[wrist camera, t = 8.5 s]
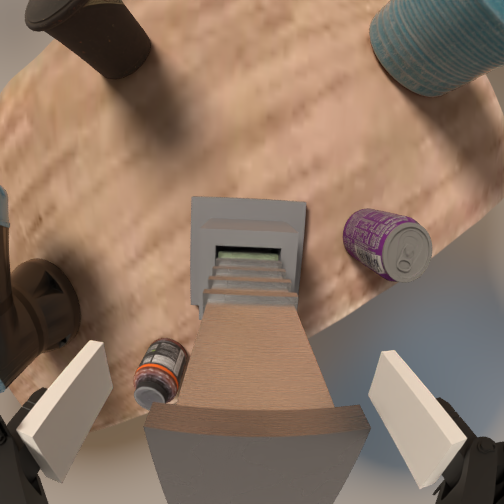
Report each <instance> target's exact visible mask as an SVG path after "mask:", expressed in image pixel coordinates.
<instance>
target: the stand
mask: <svg viewBox="0 0 504 504" xmlns="http://www.w3.org/2000/svg"><path fill="white" fill-rule="evenodd" d="M305 215H306V202H299V201H285V200H269V199H250V198H228V197H198V196H193V197H192V203H191V252H190V280H191V305H199V320H202V317H203V291H204V289H208V278H209V276H212V268H213V266H216V258H218V253H219V251H224V250H239V251H261V252H272V254H278V261H281V262H282V269H285V270H286V279H290V280H291V282H292V285H291V292H292V293H297V295H298V293H299V283H300V273H301V263H302V252H303V240H304V228H305Z"/></svg>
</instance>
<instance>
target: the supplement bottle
mask: <svg viewBox="0 0 504 504" xmlns="http://www.w3.org/2000/svg"><path fill="white" fill-rule="evenodd" d="M185 364H186V352H185V350H184V348H183V347H182V346H181V345H180V344H179V343H178V342H176V341H174V340H172V339H168V338H161V339H158V340H156V341H154V342H153V343H152V344H151V345H150V347H149V349H148V350H147V352H146V354H145V356H144V358H143V360H142V361H141V363H140V365H139V367H138V369H137V371H136V373H135V375H134V379H133V383H134V387H135V389H136V390H135V392H134V397H135V400H136V402H137V403H138V404H139V405H140V406H142V407H143V408H145V409H147V410H150V408H151V406H152V403H153V402H158V403H165V404H166V403H168V402H170V401H171V400H173V399H174V397H175V396H176V394H177V391H178V388H179V384H180V381H181V377H182V374H183V371H184V367H185Z"/></svg>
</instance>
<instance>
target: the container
mask: <svg viewBox="0 0 504 504" xmlns="http://www.w3.org/2000/svg"><path fill="white" fill-rule="evenodd" d="M25 22H26V25H27V26H28V27H29V28H30V29H31V30H33V31H45V32H46V33H48V34H49V35H51V36H52V37H54V38H55V39H57V40H58V41H59V42H61V43H62V44H63V45H65V46H66V47H67V48H69V49H70V50H71V51H73V52H74V53H75V54H77V55H78V56H79V57H80V58H82V59H83V60H84V61H86V62H87V63H88V64H89V65H90V66H92V67H93V68H94V69H95V70H96V71H98V72H99V73H100V74H102V75H103V76H105V77H106V78H110V79H118V78H122V77H125V76H127V75H129V74H131V73H133V72H134V71H135V70H137V69H138V68H139V67H140V66H141V65H142V64H143V62H144V61H145V60H146V58H147V56H148V54H149V51H150V39H149V37H148V36H147V34H146V33H145V31H144V30H143V28H142V27H141V26H140V24H139V23H138V22H137V21H136V19H135V18H134V17H133V15H132V14H131V13H130V11H129V10H128V9H127V7H126V6H125V5H124V3H123V2H122V1H121V0H29V3H28V5H27V8H26V11H25Z"/></svg>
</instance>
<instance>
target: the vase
mask: <svg viewBox="0 0 504 504" xmlns="http://www.w3.org/2000/svg"><path fill="white" fill-rule="evenodd" d="M369 36H370V41H371V45H372V48H373V50H374V52H375V54H376V56H377V58H378V60H379V61H380V63H381V64H382V66H383V67H384V68H385V69H386V71H387V72H388V73H389V74H390V75H391V76H392V77H393V78H394V79H395V80H396V81H398V82H399V83H400V84H401V85H403V86H404V87H406V88H407V89H409V90H411V91H412V92H415V93H417V94H420V95H423V96H427V97H439V96H442V95H445V94H447V93H449V92H450V91H453V90H455V89H457V88H459V87H461V86H463V85H465V84H468V83H470V82H471V81H473V80H475V79H477V78H478V77H480V76H482V75H484V74H487V73H489V72H491V71H493V70H495V69H497V68H499V67H502V66H504V0H390V1H389V2H388V3H387V4H386V5H385V6H384V7H383V8H382V9H381V10H380V11H379V12H378V13H377V14H376V15H375V16H374V17H373V19H372V21H371V23H370V28H369Z"/></svg>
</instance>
